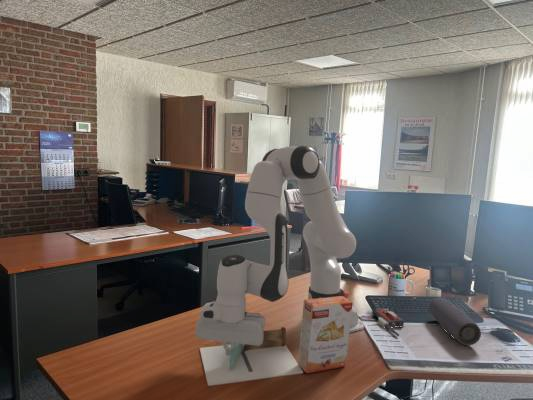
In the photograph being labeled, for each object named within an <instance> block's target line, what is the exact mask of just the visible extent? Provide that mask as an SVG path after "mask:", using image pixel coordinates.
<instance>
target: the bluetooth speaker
mask: <svg viewBox="0 0 533 400" xmlns="http://www.w3.org/2000/svg"><path fill="white" fill-rule="evenodd" d="M428 306H429V307H428V311H429V312H430V314H431V316H432V317H433V318H434V319H435V320H436V321H437V323H438V324H439V325H440V326H441V328H444V329H445V330H446V331H447V332H448V333H449V334H450V335H452V336H453V337H454V338H455V339H456V341H457V342H459V343H460V344H462V345H464V346H472V345H475V344H477V343H478V342H479V340H480V339H481V337H482V331H481V328H480V327H479V325H478V324H477V323H476V322H475V321H474V320H473V319H472V318H471V317H470V316H469V315H468V314H466V313H465V312H464V311H463V310H462V309H460V308H459V307H458V306H457V305H455V304H454V303H453V302H452V301H450V300H449V299H447V298H444V297H441V296H438V297H435V298H433V299H432V300H431V302H430V303H429V305H428ZM444 329H443V330H444ZM445 330H444V331H445ZM446 331H445V332H446ZM447 332H446V333H447ZM448 333H447V334H448ZM449 334H448V335H449ZM450 335H449V336H450ZM454 338H453V339H454ZM455 339H454V340H455Z"/></svg>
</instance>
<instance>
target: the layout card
mask: <svg viewBox="0 0 533 400" xmlns="http://www.w3.org/2000/svg"><path fill="white" fill-rule="evenodd" d="M228 346H229V348H230V347H231V345H230V344H228ZM225 351H226V350H225V349H224V347H223V345H216V346H215V345H214V346H206V347H199V352H200V357H201V362H202V366H203V370H204V375H205V379H206V383H207V387H211V386H218V385H226V384H232V383H234V384H235V383H240V382H241V383H242V382H248V381H255V380H263V379H269V378H270V379H271V378H278V377H285V376H292V375H300V374H304V370H303V369H302V368H301V367H300V366H299V364H298V361H296V359H295V357H294V355H293V354H292V352H291V351H290V350H289V348H288V346H287V345H286V344H285V346H279V347H270V348H261V349H252V350H247V351H246V350H244V344H243V350H242V352H241V354H240V356H239V358H238V360H237V362H236V365H235V367H234V369H233V370H229V367H230V356H227V355H225Z"/></svg>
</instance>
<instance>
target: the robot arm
mask: <svg viewBox="0 0 533 400" xmlns="http://www.w3.org/2000/svg"><path fill="white" fill-rule="evenodd" d="M327 172H328V171H327V170H326V168H325V166H324V164H323V162H322V161H321V160H320V157H319V155H318V153H317V151H316V150H315V149H314V148H313V147H310V146H307V145H299V146H298V145H297V146H296V145H289V146H284V147H281V148H273V149H271V150H269V151H268V152H266V153H265V154H264V156H263V158H262V160H261V161H259V162H257V163H255V165H254V167H253V170H252V172H251V175H250V178H249V182H248V186H247V190H246V194H245V200H244V209H245V212H246V214H247V216H248V217H249V218H250V220H252V221H253V222H254V223H255V224H257V225H258V226H260V227H261V228H263V229H264V231H266V232H267V234H268V236H269V239H270V240H269V241H270V248H269V249H270V252H269V253H270V254H269V255H270V257H269V259H270V260H269V265H267V264H262V263H258V262H255V261H251V260H248V259H246V257H244V256H243V255H241V254H231V255H226V256H225V257H222V258H221V260H220V262H219V265H218V270H217V275H216V276H217V277H216V289H217V296H216V300H214V301H211V302H206V303H205V304H204V305H203V306H202V308H201V309H200V311H199V317H198V319H197V321H196V326H195V337H196V338H197V339H198V340H206V341H214V342H220V343H221V346H223V347H224V349H225V350H226V351H225V355H227V356H230V353H231V351H232V349H233V348H234V347H235V345H236V343H239V344H247V345H256V346H260V345H261V344H262V343H263V339H264V331H265V330H264V328H265V326H266V318H265V316H264V315H263V314H261V313H256V312H255V313H254V312H249V311H248V312H247V311H246V310H247V298H246V295H247V294H249V295H252V296H256V297H259V298H261V299H264V300H266V301H268V302H271V303H272V302H273V303H274V302H277V301H278V300H280V299H282V298H283V297H284V296H285V295H286V294H287V292H288V289H289V283H290V282H289V273H288V221H287V218H286V216H285V215H284V214H283V212H282V209H281V200H282V194H283V186H284V183H285V182H286V181H293V180H296V181H297V184H298V191H299V194H300V196H301V201H302V205H303V209H304V212H305V215H306V216H307V217H308V218H309V219H310V220H309V221H308V222H306V224H305V225H304V227H303V230H302V237H303V240H304V242H305V244H306V247H307V252H308V256H309V263H310V277H309V278H310V281H309V286H308V294H307V299H316V298H327V297H337V296H343V297H344V298H346V299H348V298H349V297H350V293H348V292H347V291H346V290H345V291H344V289H342V288H341V279H342V277H341V276H342V269H341V266H340V265H339V262H338V259H347V258H349V257H351V256H352V255H353V254H354V252H355V251H356V248H357V247H356V246H357V239H356V237H355V235H354V234H353V233H352V232H351V230H350V229H349V228H348V226H347V225H346V222H345V221H344V219H343V217H342V215H341V213H340V212H339V209H338V206H337V204H336V201H335V200H336V199H335V198H334V197H335V196H334V194H333V193H334V192H333V190H332V189H333V188H332V186H331V181H330V177H329V175H328V173H327ZM364 328H365V325H364V322H363V321H362V320H361V319H360V318H359V314H358V311H357V309H356V308H355V307H354V306H353V305H352V313H351V322H350V330H349V334H351V333H354V332H358V331H362V330H364ZM228 343H229V344H228ZM228 345H231V347H230V348H229V346H228Z"/></svg>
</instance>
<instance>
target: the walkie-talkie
mask: <svg viewBox="0 0 533 400" xmlns="http://www.w3.org/2000/svg"><path fill="white" fill-rule="evenodd" d="M386 308H387V307H384V308H375V310H374V311H376V312H377V313H378V314H379V315H380V316H381V317H378V319H377V320H378V324H379V325H380V326H381V325H382V326H383V327H386V328H385V329H387V330H389V331H390V332H391V333H392V334H394V335H396V336H397V337H400V334H399V332H397V331H395V330H394V328H391V327H395V326H399V327H398V328H400V326H403V325H405V321H404V320H403V319H402V318H401V317H399V316H398V315H397V314H396V313H395V312H394V311H392V310H390V309H389V310H390V311H389V310H388V308H387V309H386ZM372 315H374V317H375V316H376V317H377V315H376V314H375V313H374V312H373V311H372ZM376 317H375V318H376ZM382 326H381V327H382ZM383 327H382V328H383ZM403 327H404V326H403Z"/></svg>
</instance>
